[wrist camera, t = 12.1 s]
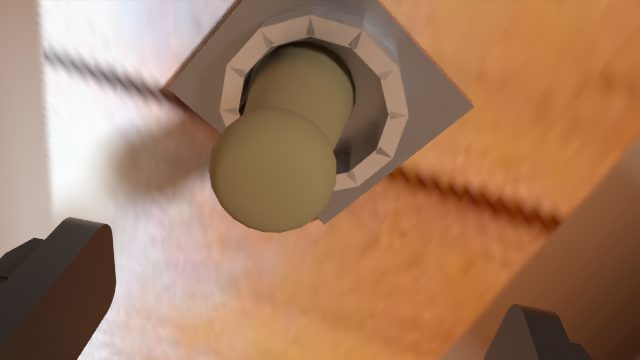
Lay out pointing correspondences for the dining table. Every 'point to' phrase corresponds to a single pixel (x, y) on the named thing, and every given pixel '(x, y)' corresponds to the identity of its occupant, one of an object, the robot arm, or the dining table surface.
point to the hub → (366, 69)
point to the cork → (284, 139)
